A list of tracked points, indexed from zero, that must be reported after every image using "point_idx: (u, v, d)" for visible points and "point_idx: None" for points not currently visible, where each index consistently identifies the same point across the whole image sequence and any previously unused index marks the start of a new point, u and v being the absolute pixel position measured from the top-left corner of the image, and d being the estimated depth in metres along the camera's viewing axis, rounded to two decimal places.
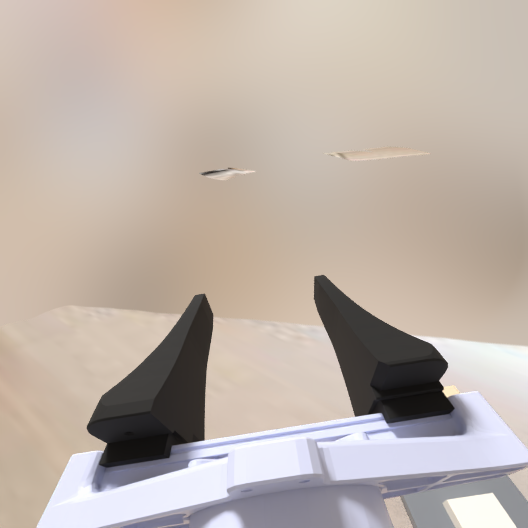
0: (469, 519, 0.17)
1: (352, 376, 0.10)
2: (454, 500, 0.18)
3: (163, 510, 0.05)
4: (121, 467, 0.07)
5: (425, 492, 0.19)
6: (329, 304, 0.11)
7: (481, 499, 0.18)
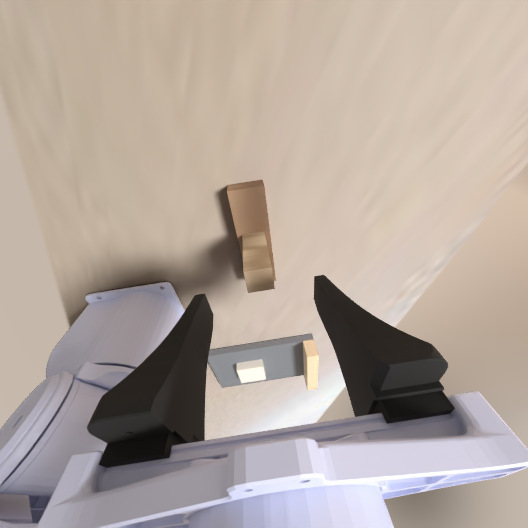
0: (256, 370, 0.32)
1: (352, 376, 0.10)
2: (262, 368, 0.32)
3: (163, 510, 0.05)
4: (121, 467, 0.07)
5: (266, 355, 0.32)
6: (329, 304, 0.11)
7: (263, 375, 0.33)
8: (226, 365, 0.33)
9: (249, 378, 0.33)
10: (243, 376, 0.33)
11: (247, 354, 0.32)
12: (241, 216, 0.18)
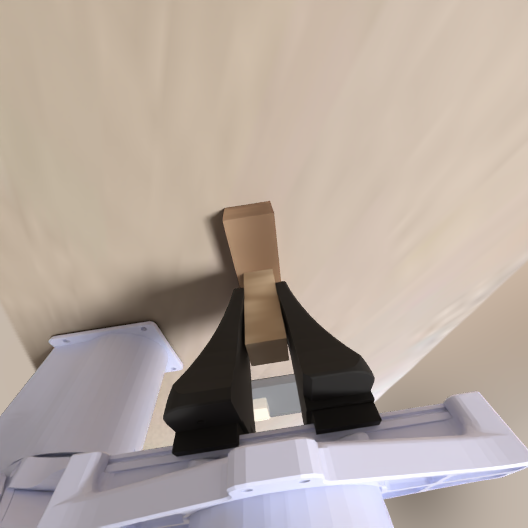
0: (258, 411, 0.28)
1: (298, 384, 0.10)
2: (266, 409, 0.28)
3: (163, 510, 0.05)
4: (191, 456, 0.07)
5: (270, 393, 0.28)
6: (283, 311, 0.11)
7: (267, 415, 0.29)
8: None
9: None
10: None
11: None
12: (242, 251, 0.13)
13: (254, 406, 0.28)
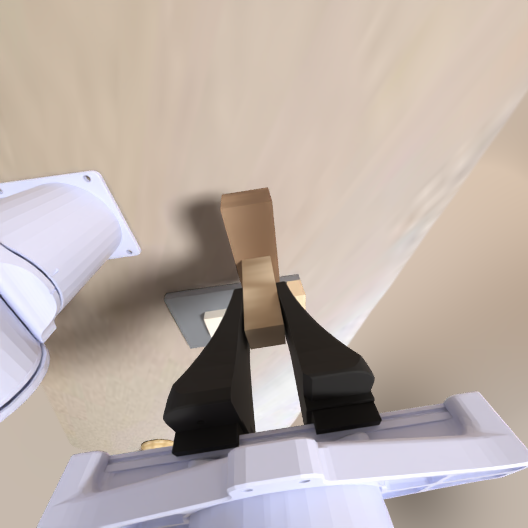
0: None
1: (298, 384, 0.10)
2: None
3: (163, 510, 0.05)
4: (191, 456, 0.07)
5: None
6: (283, 311, 0.11)
7: None
8: (192, 314, 0.26)
9: None
10: (213, 329, 0.27)
11: (216, 298, 0.25)
12: (240, 238, 0.14)
13: (223, 314, 0.26)
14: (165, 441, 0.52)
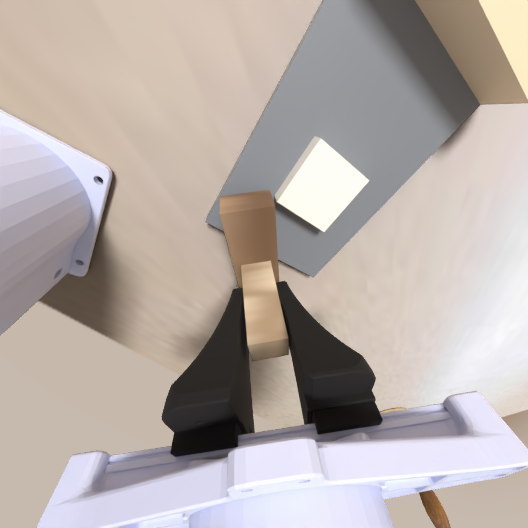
0: (318, 168, 0.12)
1: (299, 384, 0.10)
2: (327, 146, 0.11)
3: (163, 510, 0.05)
4: (190, 456, 0.07)
5: (310, 111, 0.11)
6: (283, 311, 0.11)
7: (351, 172, 0.12)
8: None
9: (328, 205, 0.13)
10: (309, 210, 0.13)
11: (267, 150, 0.12)
12: (240, 244, 0.13)
13: (300, 164, 0.12)
14: (392, 410, 0.41)
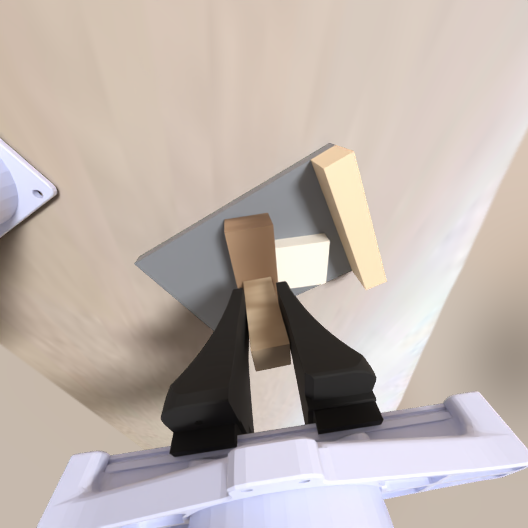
0: (312, 253, 0.15)
1: (299, 384, 0.10)
2: (327, 248, 0.15)
3: (163, 510, 0.05)
4: (189, 456, 0.07)
5: None
6: (284, 311, 0.11)
7: (323, 271, 0.16)
8: (188, 278, 0.17)
9: (295, 277, 0.17)
10: (284, 271, 0.16)
11: (208, 238, 0.15)
12: (242, 260, 0.14)
13: (306, 241, 0.15)
14: None
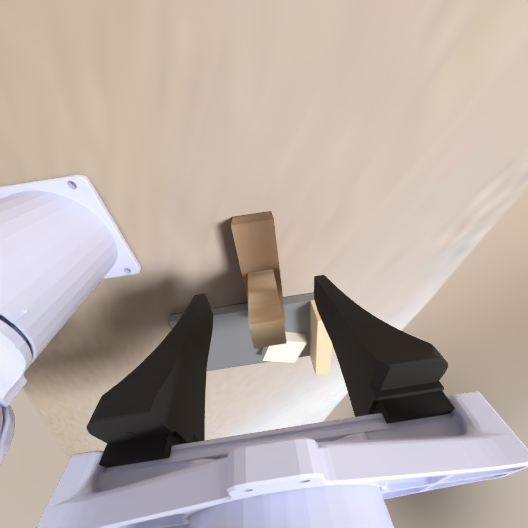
0: (294, 346, 0.23)
1: (352, 376, 0.10)
2: (304, 345, 0.23)
3: (163, 510, 0.05)
4: (121, 467, 0.07)
5: None
6: (329, 304, 0.11)
7: (296, 356, 0.25)
8: None
9: (277, 356, 0.24)
10: (272, 351, 0.24)
11: (229, 320, 0.22)
12: (247, 252, 0.16)
13: (292, 338, 0.23)
14: None
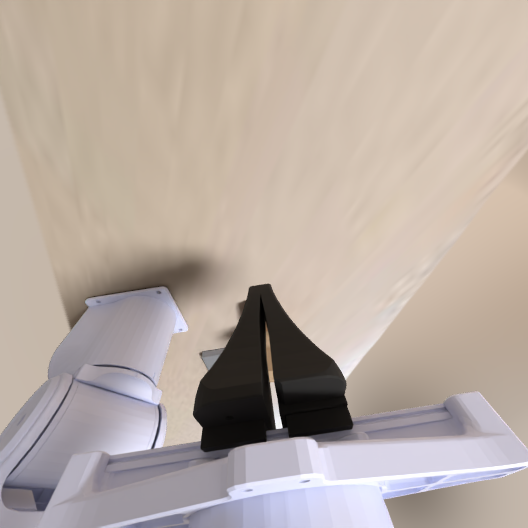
0: None
1: None
2: None
3: (163, 510, 0.05)
4: (219, 452, 0.07)
5: None
6: (265, 314, 0.11)
7: None
8: None
9: None
10: None
11: None
12: None
13: None
14: None
